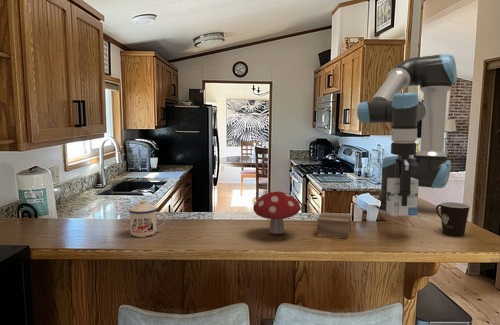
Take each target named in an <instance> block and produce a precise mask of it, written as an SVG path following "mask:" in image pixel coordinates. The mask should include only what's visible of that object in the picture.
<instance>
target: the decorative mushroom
mask: <svg viewBox="0 0 500 325" xmlns="http://www.w3.org/2000/svg"><path fill="white" fill-rule="evenodd" d="M300 210H302V207H301V204H300V201H298V200H297V199H296V198H295V197H293V196H292V195H291V194H289V193H286V192H283V191H277V190H276V191H271V192H267V193H265V194H263V195H262V196H260V197H259V198H258V199H257V200H256V201H255V202H253V212H254V213H255V215H257V216H258V217H261V218H264V219H267V220H268V219H269V220H270V221H269V233H271V234H273V235H281V234H283V233H285V223H284V219H285V220H286V219H289V218H292V217H293V216H296V215H298V213H299V212H300Z"/></svg>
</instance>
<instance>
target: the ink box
mask: <svg viewBox="0 0 500 325" xmlns="http://www.w3.org/2000/svg"><path fill="white" fill-rule="evenodd" d="M410 192H411V194H410V195H409V202H408V216H407V217H409V216H418V209H419V208H418V207H419V205H418V204H419V186H418V180H417V179H414V178H411V187H410ZM398 194H400V178H387V205H386V210H385V212H386V213H388V215H390V216H392V217H400V216H399V196H398Z"/></svg>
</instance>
